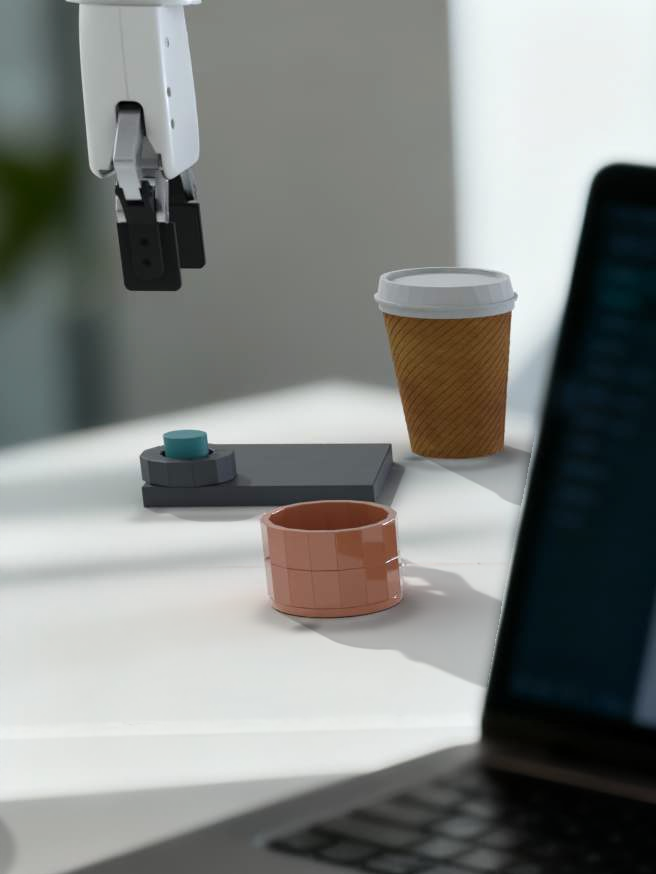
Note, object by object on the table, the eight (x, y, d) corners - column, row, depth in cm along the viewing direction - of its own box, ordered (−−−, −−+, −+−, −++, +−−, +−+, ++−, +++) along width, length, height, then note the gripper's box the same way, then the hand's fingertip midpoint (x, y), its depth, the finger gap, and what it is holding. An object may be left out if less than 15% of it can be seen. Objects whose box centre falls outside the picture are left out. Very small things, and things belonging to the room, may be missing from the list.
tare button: (162, 462, 150) (159, 438, 149) (169, 453, 152) (166, 429, 152) (205, 462, 150) (203, 438, 150) (212, 453, 153) (209, 429, 152)
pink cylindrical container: (261, 618, 129) (252, 533, 128) (279, 582, 136) (270, 500, 134) (397, 616, 131) (389, 531, 129) (408, 580, 137) (401, 499, 135)
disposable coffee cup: (541, 460, 166) (530, 285, 161) (400, 469, 162) (385, 290, 157) (511, 431, 173) (500, 263, 169) (376, 439, 169) (361, 268, 165)
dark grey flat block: (138, 509, 149) (132, 462, 148) (173, 464, 160) (168, 420, 159) (375, 507, 152) (370, 461, 151) (393, 463, 163) (389, 419, 162)
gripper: (94, -33, 147) (130, 256, 154) (28, -19, 132) (71, 302, 138) (221, -29, 149) (252, 257, 156) (171, -15, 133) (207, 303, 140)
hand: (166, 277), depth 147 cm, fingers open, 7 cm apart
